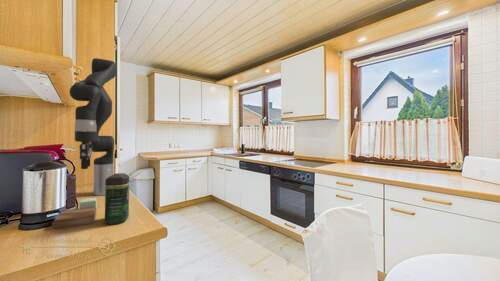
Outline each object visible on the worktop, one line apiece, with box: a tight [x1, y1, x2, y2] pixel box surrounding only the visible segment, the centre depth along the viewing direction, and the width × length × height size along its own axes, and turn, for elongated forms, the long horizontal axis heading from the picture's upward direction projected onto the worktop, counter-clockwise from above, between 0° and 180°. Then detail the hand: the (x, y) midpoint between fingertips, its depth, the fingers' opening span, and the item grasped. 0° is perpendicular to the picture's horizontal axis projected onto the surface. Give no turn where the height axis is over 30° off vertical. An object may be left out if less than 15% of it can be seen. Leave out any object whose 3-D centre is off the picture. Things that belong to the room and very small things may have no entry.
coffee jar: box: [104, 172, 130, 225], centre depth 83 cm, size 10×8×19 cm
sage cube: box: [79, 196, 98, 209], centre depth 91 cm, size 6×6×6 cm
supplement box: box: [66, 173, 77, 210], centre depth 93 cm, size 9×5×16 cm, turn 84°
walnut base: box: [51, 207, 98, 230], centre depth 82 cm, size 12×12×3 cm
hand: (85, 167), depth 91 cm, fingers open, 8 cm apart
